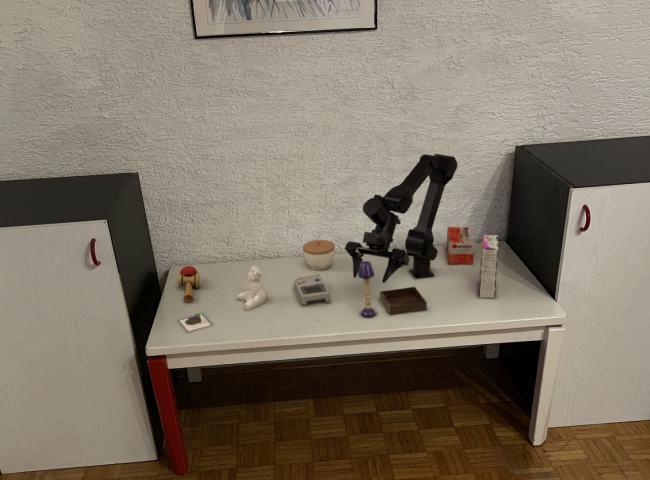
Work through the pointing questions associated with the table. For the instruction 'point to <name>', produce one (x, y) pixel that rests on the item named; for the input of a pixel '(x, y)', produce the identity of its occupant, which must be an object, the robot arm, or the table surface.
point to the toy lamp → (366, 287)
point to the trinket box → (319, 254)
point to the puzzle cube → (195, 322)
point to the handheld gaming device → (311, 289)
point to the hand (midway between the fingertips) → (368, 280)
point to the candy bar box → (488, 266)
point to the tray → (403, 300)
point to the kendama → (188, 281)
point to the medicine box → (460, 245)
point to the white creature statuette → (253, 289)
